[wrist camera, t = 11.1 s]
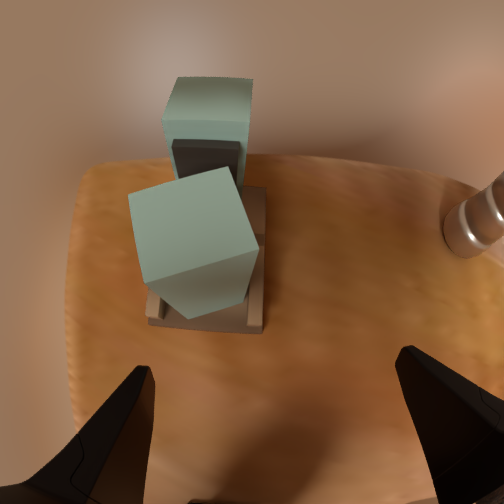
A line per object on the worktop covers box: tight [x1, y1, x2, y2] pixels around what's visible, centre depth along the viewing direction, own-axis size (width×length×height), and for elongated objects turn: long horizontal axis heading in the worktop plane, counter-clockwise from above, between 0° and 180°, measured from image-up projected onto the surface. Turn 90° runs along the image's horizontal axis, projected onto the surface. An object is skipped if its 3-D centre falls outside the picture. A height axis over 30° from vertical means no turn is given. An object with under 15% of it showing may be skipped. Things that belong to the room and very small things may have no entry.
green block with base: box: [145, 77, 266, 334], centre depth 18 cm, size 13×9×13 cm
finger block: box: [128, 166, 259, 319], centre depth 17 cm, size 5×4×12 cm
